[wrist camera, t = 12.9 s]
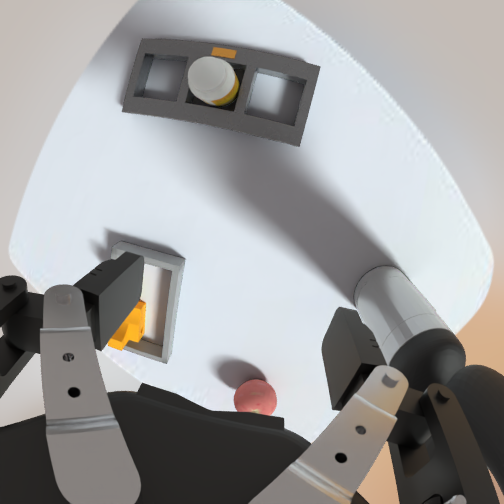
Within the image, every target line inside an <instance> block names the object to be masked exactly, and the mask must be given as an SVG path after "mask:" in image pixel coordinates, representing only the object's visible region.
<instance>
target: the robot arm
mask: <svg viewBox="0 0 504 504" xmlns="http://www.w3.org/2000/svg"><path fill="white" fill-rule="evenodd" d="M143 271H144V256H142V255H138V254H135V253H131V252H128V251H126V252H124V253H123V254H122V255H121V256H119V257H118V258H117V259H116V260H114V259H111V260H108V261H105V262H102V263H101V264H99V265H98V266H97V267H95V269H93V270H92V271H90V272H89V273H88V274H87V275H85V276H84V277H83V278H82V279H80V280H79V281H78V282H77V283H75V284H74V285H73V286H71V285H56V286H53V287H51V288H49V289H48V290H47V291H46V292H45V294H44V295H43V294H37V293H31V292H28V290H27V283H26V281H25V280H24V279H23V278H22V277H19V276H5V277H2V278H0V327H2V331H3V334H4V335H3V336H2V337H1V338H0V398H1V397H2V395H3V394H4V393H5V391H6V390H7V389H8V387H9V386H10V385H11V383H12V382H13V381H14V379H15V378H16V376H17V375H18V374H19V373H20V372H21V370H22V369H23V368H24V367H25V365H26V364H27V363H28V362H29V360H30V359H31V358H32V357H33V355H34V354H35V353H38V354H41V374H42V388H43V398H44V405H45V414H43V415H40V416H37V417H34V418H30V419H27V420H24V421H21V422H17V423H14V424H10V425H7V426H4V427H0V504H369V503H368V502H367V501H366V500H365V499H364V498H363V497H362V496H361V495H360V494H359V493H358V492H357V491H356V490H357V489H358V487H359V486H360V484H361V483H362V481H363V480H364V478H365V476H366V475H367V473H368V472H369V470H370V468H371V467H372V465H373V463H374V461H375V460H376V458H377V456H378V455H379V453H380V451H381V449H382V448H383V445H384V444H385V442H386V441H388V444H389V449H390V454H391V459H392V463H393V469H394V474H395V479H396V484H397V490H398V496H399V502H400V504H500V503H499V500H498V497H497V493H496V490H495V488H494V485H493V482H492V479H491V476H490V474H489V471H488V469H489V470H490V471H491V473H492V474H493V476H494V478H495V479H496V481H497V483H498V485H499V487H500V489H501V491H502V493H503V495H504V376H503V375H502V374H500V373H498V372H497V371H495V370H493V369H491V368H488V367H486V366H482V365H469V366H466V367H465V362H466V355H465V351H464V348H463V346H462V344H461V343H460V341H459V340H458V339H457V337H456V336H455V335H454V334H453V332H452V331H451V330H450V328H449V327H448V326H447V325H446V323H445V322H444V321H443V320H442V319H441V317H440V316H439V315H438V314H437V313H436V310H435V309H434V307H433V306H432V305H431V304H430V303H429V302H428V300H427V299H426V298H425V297H424V296H423V295H422V293H421V292H420V291H419V290H418V289H417V288H416V287H415V285H414V284H413V283H412V282H411V281H409V280H408V279H407V277H406V276H405V275H404V274H403V273H402V272H401V271H400V270H398V269H397V268H395V267H391V266H381V267H377V268H375V269H372V270H371V271H369V272H368V273H366V274H365V275H364V276H363V277H362V278H361V280H360V281H359V283H358V285H357V286H356V289H355V294H354V301H355V305H356V307H357V309H358V312H359V314H360V316H361V319H362V321H363V323H364V324H363V323H362V321H361V319H360V316H359V314H358V312H357V311H356V310H352V309H347V308H343V307H339V308H338V309H337V310H336V312H335V314H334V316H333V319H332V321H331V323H330V326H329V328H328V330H327V332H326V334H325V337H324V339H323V343H322V356H323V361H324V366H325V372H326V377H327V382H328V388H329V393H330V399H331V405H332V410H338V411H340V412H339V414H338V415H337V416H336V417H335V418H334V420H333V421H332V422H331V423H330V424H329V425H328V427H327V428H326V429H325V430H324V431H323V432H322V433H321V435H320V436H319V437H318V438H317V439H316V440H315V441H314V442H313V443H312V444H311V443H310V442H308V441H307V440H306V439H304V438H303V437H301V436H299V435H298V434H296V433H294V432H292V431H290V430H287V429H285V428H284V418H281V417H275V416H269V415H264V414H258V413H253V412H229V411H212V410H208V409H206V408H204V407H202V406H200V405H198V404H196V403H194V402H192V401H190V400H188V399H186V398H184V397H182V396H180V395H178V394H176V393H172V392H169V391H166V390H163V389H160V388H157V387H154V386H150V385H148V384H145V383H142V384H141V386H140V388H139V390H138V392H134V391H115V392H108V393H107V392H106V389H105V385H104V382H103V378H102V374H101V371H100V367H99V363H98V359H97V355H96V351H95V349H97V350H100V351H102V350H103V348H104V347H105V346H106V344H107V343H108V342H109V340H110V339H111V338H112V336H113V335H114V334H115V332H116V331H117V330H118V328H119V327H120V326H121V324H122V323H123V322H124V320H125V319H126V318H127V317H128V315H129V314H130V313H131V311H132V310H133V309H134V308H135V306H136V305H137V304H138V302H139V299H140V296H141V292H142V281H143Z"/></svg>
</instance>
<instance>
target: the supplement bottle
mask: <svg viewBox="0 0 504 504" xmlns="http://www.w3.org/2000/svg"><path fill="white" fill-rule="evenodd" d="M188 84H189V88H190V90H191V92H192V93H193V94H194V95H195V96H196V97H198V98H199V99H201V100H202V101H204V102H205V103H207V104H209V105H211V106H213V107H225V106H227V105H229V104H231V103H232V102H234V101H235V100H236V99H237V97H238V95H239V91H240V83H239V80H238V78H237V76H236V74H235V72H234V70H233V68H232V67H231V65H230V64H229V63H227V62H226V61H224V60H222V59H219V58H215V57H209V56H208V57H202V58H199V59H197V60H196V61H195V62H194V63H193V64H192V65H191V66H190V68H189V71H188Z"/></svg>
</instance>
